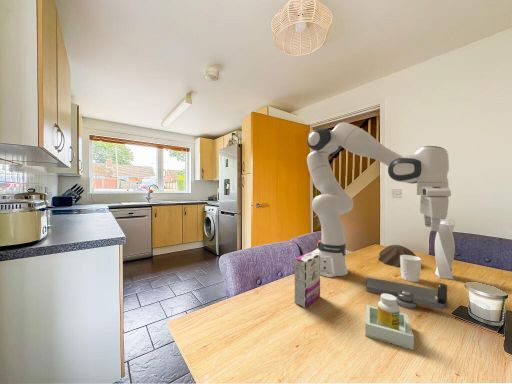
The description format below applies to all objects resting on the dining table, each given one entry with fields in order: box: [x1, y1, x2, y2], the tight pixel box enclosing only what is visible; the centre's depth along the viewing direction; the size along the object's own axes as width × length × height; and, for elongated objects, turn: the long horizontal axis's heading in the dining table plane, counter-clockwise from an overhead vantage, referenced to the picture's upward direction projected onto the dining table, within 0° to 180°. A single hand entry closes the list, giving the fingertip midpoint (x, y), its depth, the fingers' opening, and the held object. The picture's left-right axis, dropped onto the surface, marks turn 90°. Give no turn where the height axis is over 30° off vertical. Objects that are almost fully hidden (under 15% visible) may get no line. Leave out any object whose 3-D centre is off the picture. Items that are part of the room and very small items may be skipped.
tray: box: [365, 304, 415, 351], centre depth 62 cm, size 11×11×4 cm
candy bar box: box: [293, 251, 321, 309], centre depth 79 cm, size 11×5×16 cm, turn 138°
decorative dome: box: [377, 244, 418, 269], centre depth 121 cm, size 19×20×10 cm
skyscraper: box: [432, 219, 459, 281], centre depth 101 cm, size 8×8×28 cm
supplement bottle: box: [377, 294, 400, 330], centre depth 62 cm, size 5×5×10 cm
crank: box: [397, 282, 448, 310], centre depth 75 cm, size 14×5×8 cm, turn 59°
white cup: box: [400, 255, 422, 283], centre depth 98 cm, size 8×8×10 cm
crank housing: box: [366, 277, 448, 310], centre depth 82 cm, size 25×17×2 cm
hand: (431, 228), depth 78 cm, fingers open, 8 cm apart
